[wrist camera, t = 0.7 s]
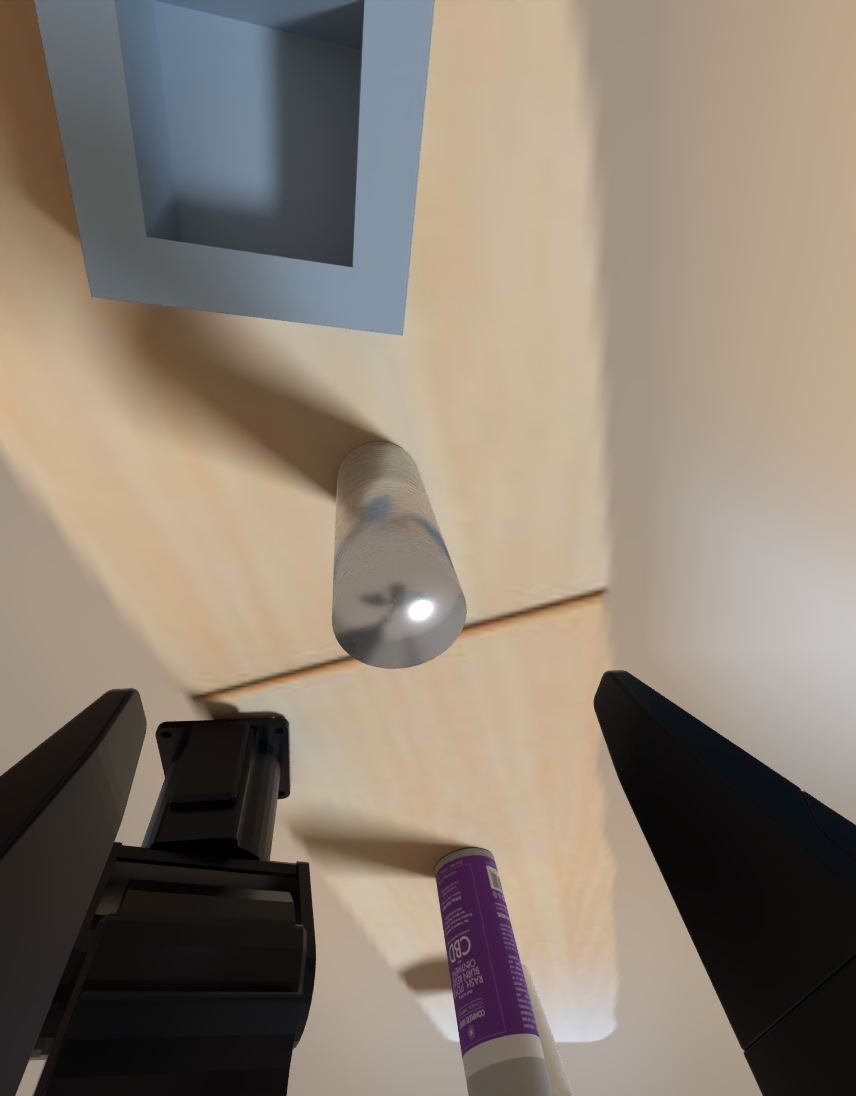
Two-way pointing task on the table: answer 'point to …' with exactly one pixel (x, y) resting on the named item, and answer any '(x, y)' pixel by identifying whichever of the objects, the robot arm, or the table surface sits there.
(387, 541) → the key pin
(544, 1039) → the dixie cup
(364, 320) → the blue-grey block with rod
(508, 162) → the table surface
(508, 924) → the container
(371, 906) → the table surface
